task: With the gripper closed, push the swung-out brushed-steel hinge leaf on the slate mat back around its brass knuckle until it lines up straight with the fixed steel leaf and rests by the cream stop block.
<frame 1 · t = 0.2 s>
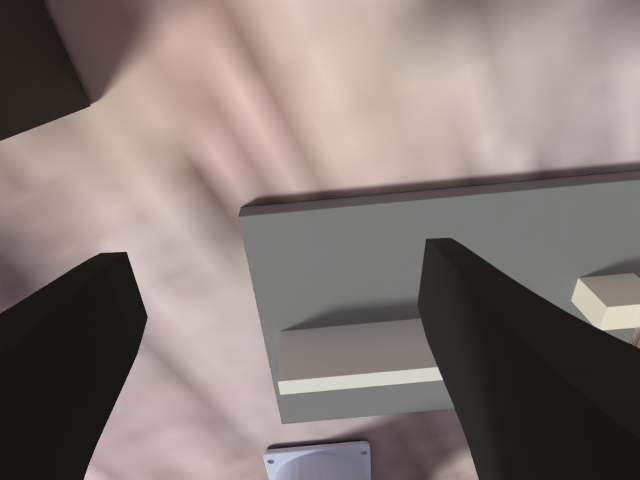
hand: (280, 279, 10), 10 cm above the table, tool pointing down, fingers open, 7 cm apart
hinge base: (449, 310, 24), on the table
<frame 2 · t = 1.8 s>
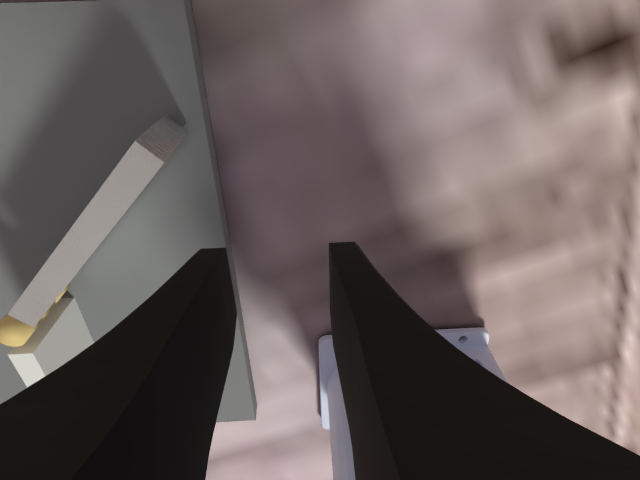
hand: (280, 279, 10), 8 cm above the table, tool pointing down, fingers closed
hinge leaf: (87, 237, 15), point 3 cm above the table, hinge at -45.0°
hinge base: (66, 268, 19), on the table
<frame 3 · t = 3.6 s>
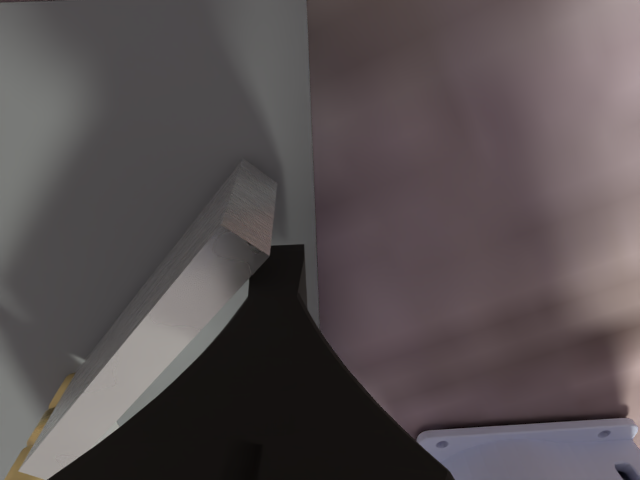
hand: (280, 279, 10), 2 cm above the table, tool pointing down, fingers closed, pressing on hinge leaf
hinge leaf: (130, 347, 10), point 3 cm above the table, hinge at -42.3°, touching gripper
hinge base: (96, 361, 14), on the table
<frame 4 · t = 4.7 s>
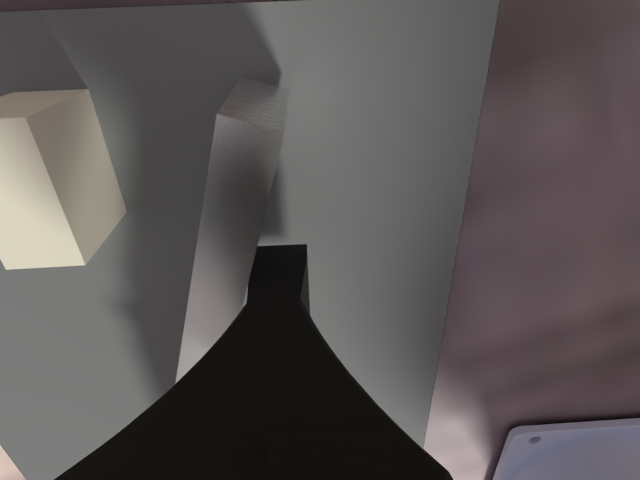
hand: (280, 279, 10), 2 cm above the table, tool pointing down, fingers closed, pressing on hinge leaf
hinge leaf: (215, 316, 10), point 3 cm above the table, hinge at -17.7°, touching gripper
hinge base: (209, 358, 15), on the table
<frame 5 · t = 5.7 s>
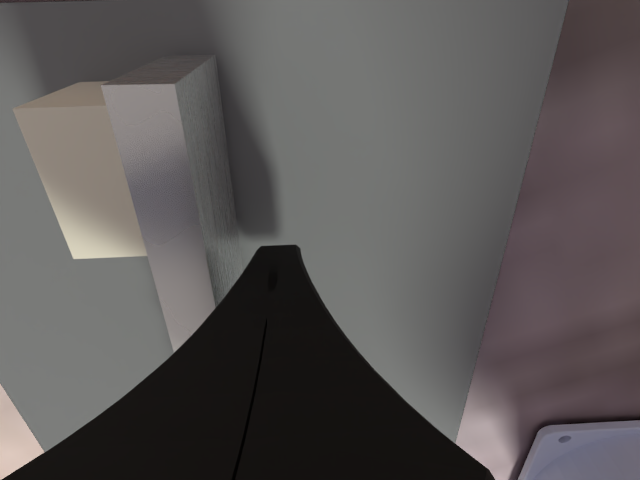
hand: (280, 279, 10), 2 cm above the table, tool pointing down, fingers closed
hinge leaf: (213, 305, 10), point 3 cm above the table, hinge at -0.9°, touching gripper
hinge base: (246, 353, 15), on the table
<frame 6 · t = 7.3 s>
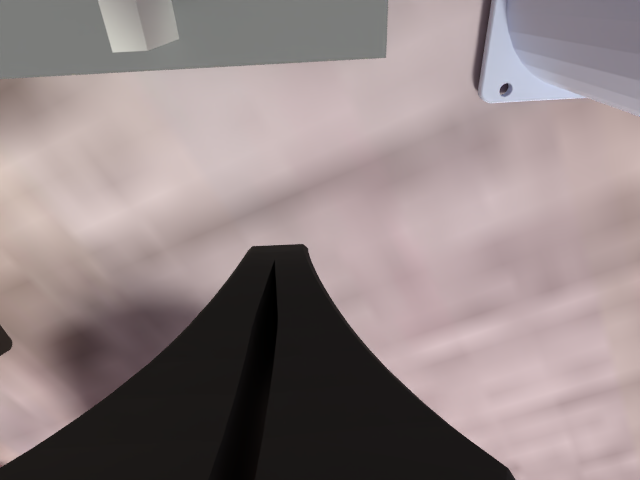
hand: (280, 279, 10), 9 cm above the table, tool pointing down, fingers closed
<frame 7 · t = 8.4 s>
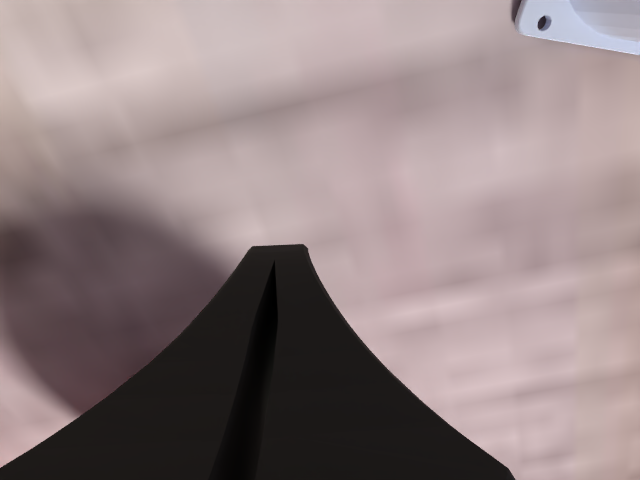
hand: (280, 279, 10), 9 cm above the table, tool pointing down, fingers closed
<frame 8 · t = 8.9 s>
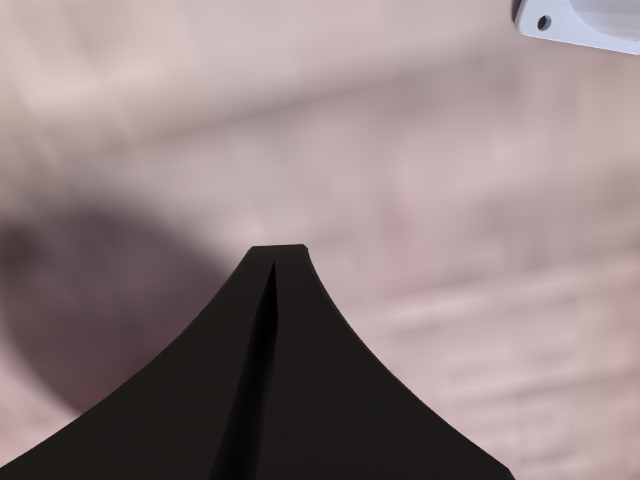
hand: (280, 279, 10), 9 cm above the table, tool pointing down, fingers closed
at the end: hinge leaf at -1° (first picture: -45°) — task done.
